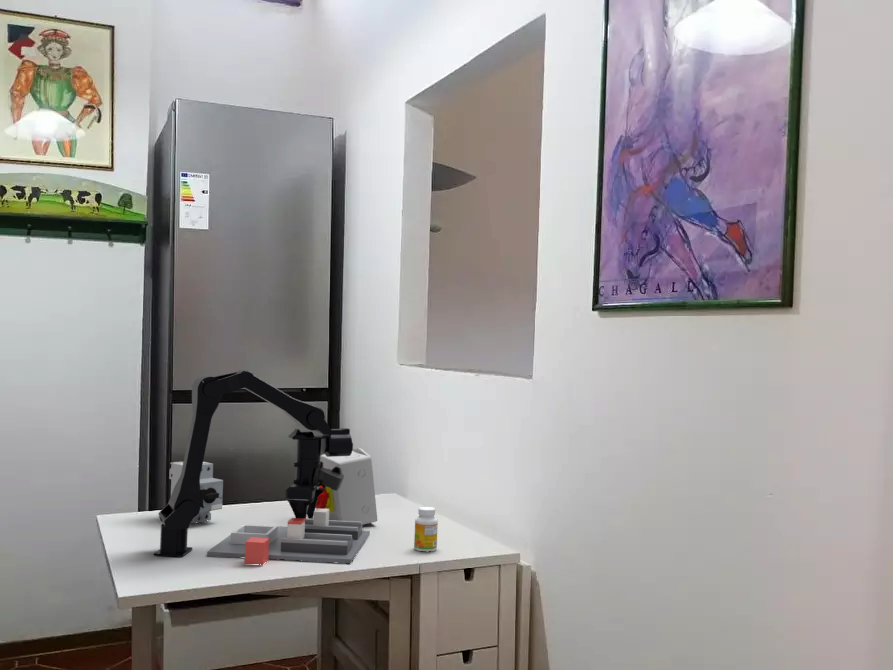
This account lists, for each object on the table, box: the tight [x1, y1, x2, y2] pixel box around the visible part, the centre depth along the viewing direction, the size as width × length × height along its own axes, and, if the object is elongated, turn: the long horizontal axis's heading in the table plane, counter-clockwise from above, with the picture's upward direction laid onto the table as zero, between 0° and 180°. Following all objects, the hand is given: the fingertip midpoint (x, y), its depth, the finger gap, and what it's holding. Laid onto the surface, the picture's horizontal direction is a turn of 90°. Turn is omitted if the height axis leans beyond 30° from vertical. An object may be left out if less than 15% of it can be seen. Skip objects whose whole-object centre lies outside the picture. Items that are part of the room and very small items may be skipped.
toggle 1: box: [287, 517, 305, 539], centre depth 184 cm, size 4×3×4 cm
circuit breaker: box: [167, 461, 224, 525], centre depth 210 cm, size 8×14×15 cm, turn 53°
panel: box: [206, 518, 371, 564], centre depth 191 cm, size 27×32×4 cm
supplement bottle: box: [413, 506, 439, 553], centre depth 191 cm, size 5×5×10 cm
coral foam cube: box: [244, 537, 269, 565], centre depth 174 cm, size 4×4×5 cm
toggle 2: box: [312, 508, 330, 526], centre depth 198 cm, size 4×3×4 cm
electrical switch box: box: [315, 447, 378, 526], centre depth 215 cm, size 15×15×20 cm
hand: (306, 522), depth 194 cm, fingers open, 9 cm apart
